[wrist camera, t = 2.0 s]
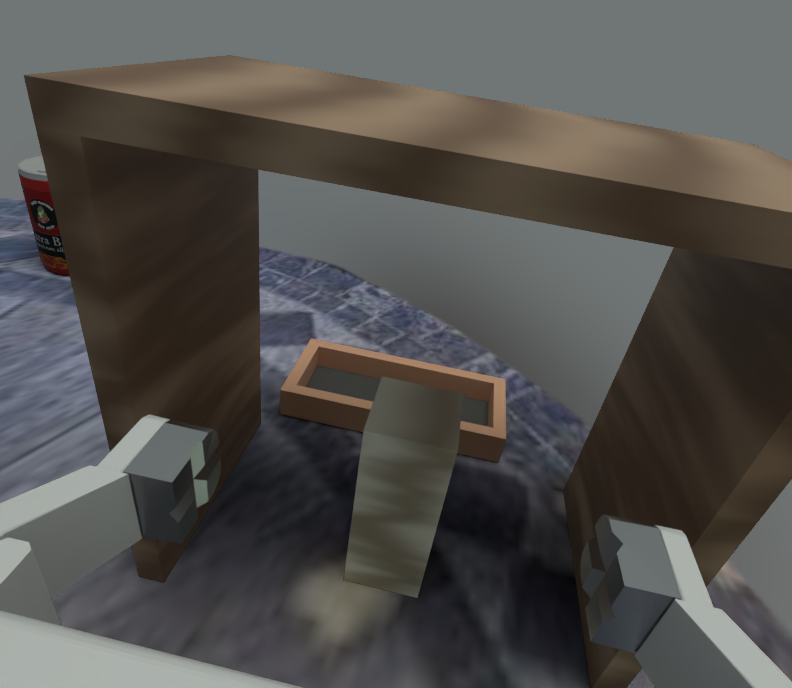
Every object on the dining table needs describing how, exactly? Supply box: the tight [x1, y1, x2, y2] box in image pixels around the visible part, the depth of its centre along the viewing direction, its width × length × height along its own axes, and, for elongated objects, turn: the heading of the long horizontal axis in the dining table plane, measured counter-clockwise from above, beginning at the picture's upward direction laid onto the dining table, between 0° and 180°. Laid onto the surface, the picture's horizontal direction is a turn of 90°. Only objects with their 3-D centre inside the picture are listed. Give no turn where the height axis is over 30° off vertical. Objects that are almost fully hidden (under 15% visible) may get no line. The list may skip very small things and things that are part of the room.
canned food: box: [18, 156, 70, 276], centre depth 56 cm, size 8×8×11 cm
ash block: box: [344, 376, 464, 598], centre depth 29 cm, size 4×4×12 cm
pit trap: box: [280, 339, 506, 462], centre depth 44 cm, size 18×8×2 cm, turn 80°
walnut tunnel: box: [24, 55, 792, 688], centre depth 27 cm, size 27×14×26 cm, turn 80°
